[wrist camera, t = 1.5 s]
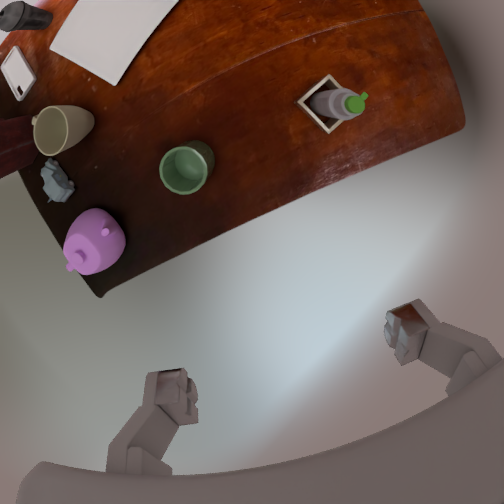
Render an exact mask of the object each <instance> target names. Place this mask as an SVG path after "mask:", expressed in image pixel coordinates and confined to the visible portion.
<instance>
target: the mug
mask: <svg viewBox="0 0 504 504" xmlns="http://www.w3.org/2000/svg"><path fill="white" fill-rule="evenodd" d="M32 125H34V140H35V144H36V146H37V148H38V149H39V150H40V152H42V153H43V154H45V155H47V156H53V155H56V154H58V153H60V152H62V151H64V150H66V149H68V148H70V147H72V146H74V145H75V144H77V143H78V142H79V141H81V140H82V139H83V138H84V137H85V136H86V135H87V134H88V133H89V132H90V131H91V130H92V128H93V126H94V116H93V115H92V113H91V112H89V111H87V110H84V109H82V108H80V107H77V106H71V105H63V106H49V107H47V108H45V109H43V110H42V111H41V112H40V114H39V115H36V116H34V117H33V119H32Z"/></svg>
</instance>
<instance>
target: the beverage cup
mask: <svg viewBox="0 0 504 504" xmlns="http://www.w3.org/2000/svg"><path fill="white" fill-rule="evenodd" d="M52 18H53V15H52V13H50V12H48V11H45V10H43V9H40V8H37V7H34V6H31V5H28V4H27V3H25V2H24V1H16V2H12V3H10V4H8V5H7V6H5V7H4V8H3V9H2V10H1V12H0V29H1V30H3V31H5V32H10V31H15V30H39V29H46V28H47V27H48V26H49V25H50V23H51V21H52Z"/></svg>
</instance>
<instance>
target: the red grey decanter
mask: <svg viewBox="0 0 504 504" xmlns="http://www.w3.org/2000/svg"><path fill="white" fill-rule="evenodd" d="M32 119H33V117H32V116H31V115H30V114H29V115H25V116H20V117H16V118H12V119H8V120H4V119H3V118H1V119H0V179H1V178H3V177H4V176H6V175H9V174H11V173H13V172H15V171H17V170H19V169H21V168H23V167H26V166H28V165H30V164H32V163H33V161H34V159H35V158H36V156H37V154H38V152H39V149H38V148H37V146H36V144H35V140H34V125H32Z"/></svg>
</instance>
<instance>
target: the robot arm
mask: <svg viewBox="0 0 504 504" xmlns="http://www.w3.org/2000/svg"><path fill="white" fill-rule="evenodd" d="M386 319H387V321H388V322H387V323H386V325H385V327H384V334H385V338H386V341H387V343H388V345H389V346H390V347H392V348H394V349H395V356H396V358H397V360H398V361H399V363H400V364H401V366H402V365H405V364H407V363H409V362H412V361H414V360H416V359H419V360H420V361H422V362H424V363H425V364H427V365H429V366H430V367H432V368H434V369H436V370H438V371H439V372H441V373H442V374H444V375H446V376H448V377H449V378H451V380H450V382H449V384H448V385H447V387H446V390H445V391H446V392H447V394H448V396H449V397H447V398H445V399H444V400H442V401H440V402H438V403H437V404H435V405H433V406H431V407H429V408H428V409H426V410H424V411H422V412H420V413H418V414H416V415H414V416H412V417H410V418H408V419H406V420H404V421H402V422H400V423H398V424H396V425H393V426H391V427H389V428H387V429H384V430H382V431H380V432H377V433H375V434H373V435H370V436H367V437H365V438H362V439H360V440H357V441H354V442H351V443H348V444H346V445H343V446H340V447H337V448H333V449H330V450H327V451H324V452H320V453H317V454H314V455H310V456H306V457H302V458H299V459H295V460H290V461H286V462H281V463H277V464H272V465H267V466H262V467H256V468H250V469H244V470H236V471H228V472H220V473H210V474H195V475H172V468H171V467H170V466H169V465H167V464H165V463H164V462H162V461H161V459H162V457H163V455H164V453H165V452H166V450H167V448H168V446H169V444H170V442H171V441H172V439H173V437H174V435H175V433H176V432H177V430H178V428H179V426H181V425H188V424H194V423H198V409H197V408H196V406H195V403H196V402H197V400H198V394H197V389H196V386H195V383H194V382H193V380H192V379H191V378H188V377H187V371H186V370H185V369H184V368H179V369H172V370H165V371H157V372H150V373H148V374H147V376H146V381H145V388H144V396H143V405H142V406H141V407H139V408H138V409H137V410H136V411H135V413H134V414H133V415H132V416H131V418H130V419H129V420H128V422H127V423H126V424H125V425H124V427H123V428H122V429H121V430H120V432H119V433H118V434H117V436H116V437H115V438H114V439H113V441H112V442H111V443H110V444H109V448H108V456H107V465H106V472H100V471H91V470H85V469H79V468H73V467H68V466H63V465H58V464H54V463H50V462H40V463H38V464H37V465H36V466H35V467H34V468H33V469H32V470H31V471H30V472H29V473H28V474H27V476H25V478H24V479H23V481H22V482H21V484H20V487H19V491H18V494H17V499H16V504H504V359H502V358H501V356H500V355H499V354H498V353H497V351H496V350H495V348H494V347H493V346H492V345H491V343H490V342H489V341H488V340H487V339H486V338H483V337H481V336H478V335H476V334H473V333H470V332H468V331H465V330H463V329H460V328H457V327H455V326H452V325H450V324H447V323H444V322H442V323H440V322H439V321H438V320H437V318H436V317H435V316H434V315H433V314H432V312H431V311H430V310H429V309H428V308H427V307H426V305H425V304H424V303H423V302H422V301H421V300H420V299H416V300H414V301H412V302H409V303H406V304H404V305H402V306H399V307H396V308H394V309H392V310H389V311H387V313H386Z"/></svg>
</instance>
